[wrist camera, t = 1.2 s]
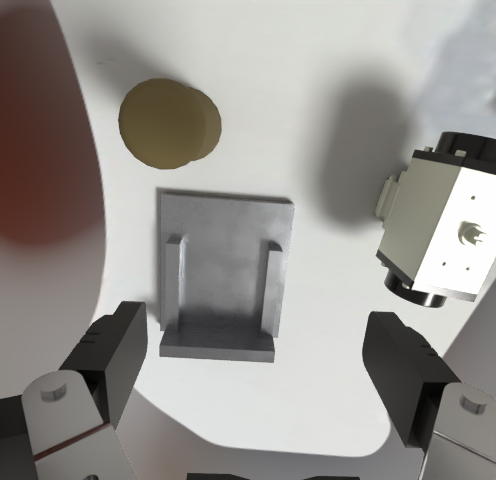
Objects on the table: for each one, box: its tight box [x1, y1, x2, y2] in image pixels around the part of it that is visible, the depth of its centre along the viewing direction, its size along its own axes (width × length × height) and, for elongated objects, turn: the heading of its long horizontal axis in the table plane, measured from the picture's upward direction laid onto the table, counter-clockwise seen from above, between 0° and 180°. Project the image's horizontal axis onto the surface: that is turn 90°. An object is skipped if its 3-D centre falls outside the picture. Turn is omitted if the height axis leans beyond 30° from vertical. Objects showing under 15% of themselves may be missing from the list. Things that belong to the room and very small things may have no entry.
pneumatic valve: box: [375, 132, 496, 308], centre depth 26 cm, size 6×12×12 cm, turn 167°
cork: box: [118, 79, 222, 169], centre depth 24 cm, size 6×6×11 cm
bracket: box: [160, 193, 295, 363], centre depth 31 cm, size 14×12×5 cm
